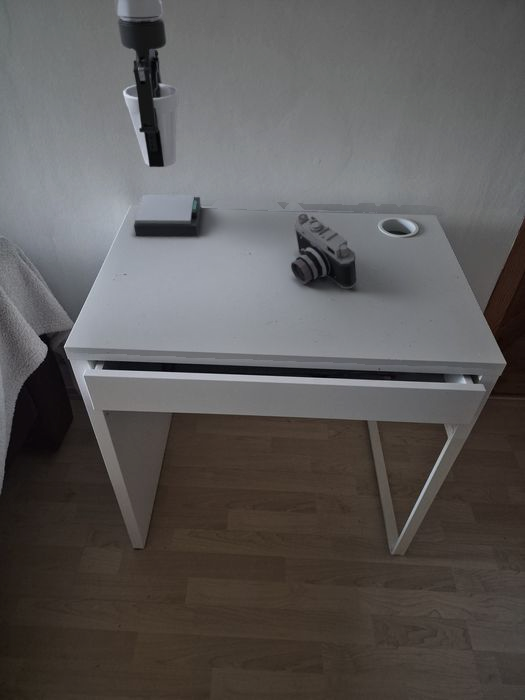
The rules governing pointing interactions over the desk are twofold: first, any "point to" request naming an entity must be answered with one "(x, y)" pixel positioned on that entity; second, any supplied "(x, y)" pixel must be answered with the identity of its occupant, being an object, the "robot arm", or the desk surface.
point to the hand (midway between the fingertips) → (159, 156)
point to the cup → (165, 120)
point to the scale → (168, 215)
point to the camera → (322, 254)
